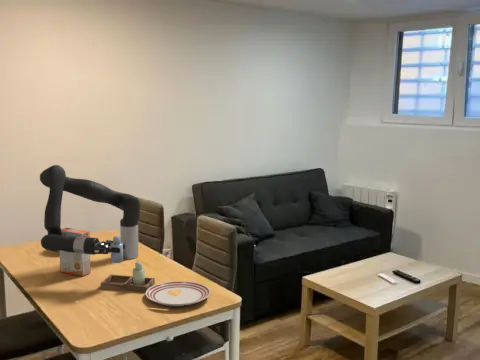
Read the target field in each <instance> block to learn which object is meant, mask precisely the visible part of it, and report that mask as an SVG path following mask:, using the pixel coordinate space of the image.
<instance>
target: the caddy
mask: <svg viewBox="0 0 480 360" xmlns="http://www.w3.org/2000/svg"><path fill="white" fill-rule="evenodd" d="M155 283H156V279H155V277H147V276H145V286H140V285H133V275H131V276H130V275H121V274H110V275H108V276H107V277H106V278H104V279H103V280H102V281H101V282H100V289H104V290H113V291H115V290H116V291H125V292H126V291H128V292H136V293H137V292H139V293H146V291H147V290H148V289H149V288H150V287H152V286H154V285H156V284H155Z"/></svg>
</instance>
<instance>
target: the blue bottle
mask: <svg viewBox="0 0 480 360" xmlns="http://www.w3.org/2000/svg"><path fill="white" fill-rule="evenodd" d="M112 241H113V243H111V248H112V247H117V248H120V253H113V252H112V253H110V262H111V263H113V264H120V263H123V262H124V259H123V243H121V242H120V235H116V236H113V238H112Z"/></svg>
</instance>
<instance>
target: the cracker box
mask: <svg viewBox="0 0 480 360" xmlns="http://www.w3.org/2000/svg"><path fill="white" fill-rule="evenodd" d="M61 231H62V236H67V237H90V236H91V235H90V234H91V233H90V232H91V231H90V230H83V229H77V228H71V227H65V228H61ZM59 272H61V273H66V274H70V275H73V276H74V275H75V276H77V277H78V276H79V277H84V276H87V275H88V274H91V255H90V254H80V253H73V252H66V251H62V250H59Z"/></svg>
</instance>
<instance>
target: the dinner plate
mask: <svg viewBox="0 0 480 360" xmlns="http://www.w3.org/2000/svg"><path fill="white" fill-rule="evenodd" d="M175 290H177V291H180V293H179V294H177V295H176V296H175V295H172V294H169V292H170V291H175ZM211 292H212V291H211V289H210V288H209V287H208V285H205V284H202V283H199V282H196V281H195V282H194V281H188V280H174V281H166V282H161V283H156V284H154V285H153V286H152V287H150V288H149V289H148V290H147V291H146V292H145V296H146V298H147V299H148V300H149V301H151V302H154V303H156V304H159V305H162V306H170V307H185V306H184V305H186V306H190V305H195V304H197V303H199V302H203V301H204V300H206V299H207V298H208V297H209V296H210V295H211Z"/></svg>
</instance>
